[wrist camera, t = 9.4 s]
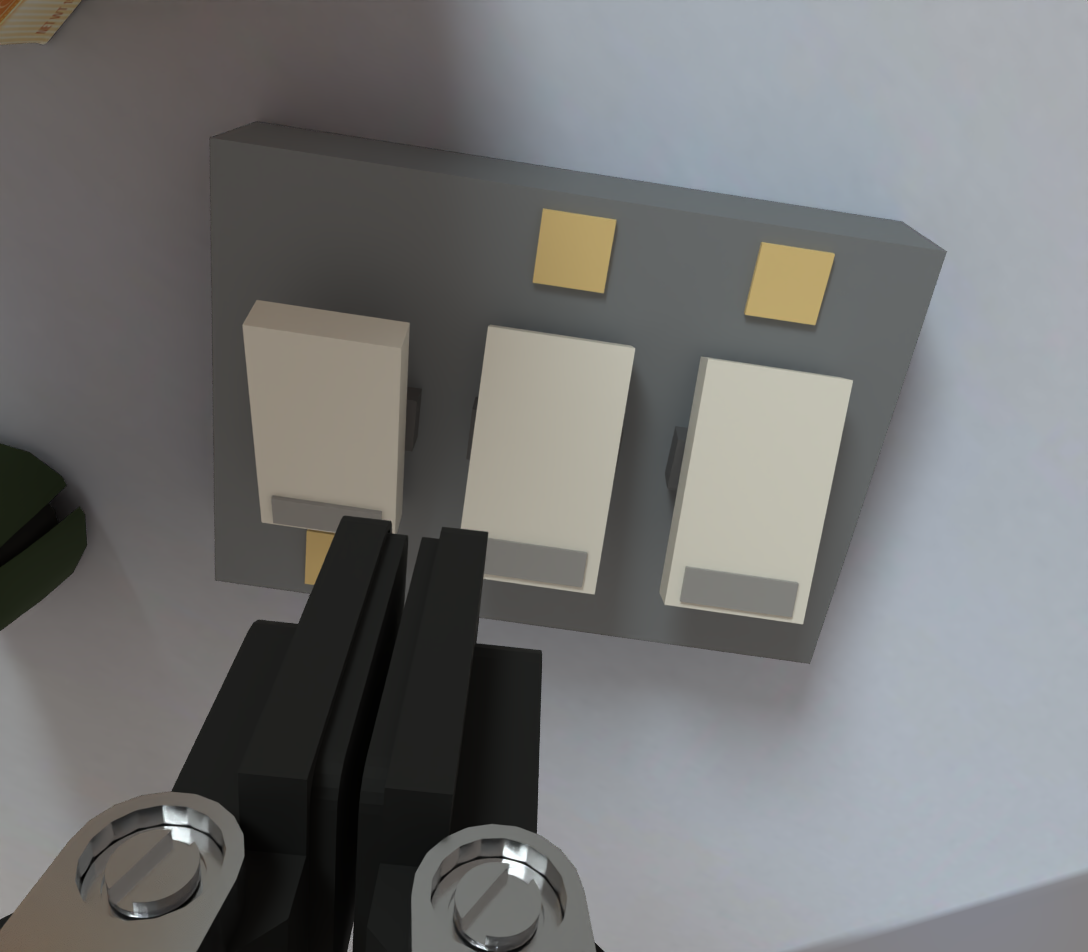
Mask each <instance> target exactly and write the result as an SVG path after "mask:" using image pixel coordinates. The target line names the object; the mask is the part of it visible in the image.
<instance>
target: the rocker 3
mask: <svg viewBox="0 0 1088 952" xmlns="http://www.w3.org/2000/svg"><path fill="white" fill-rule="evenodd" d="M852 384H853V380H849V379H845V378H841V377H836V376H829V375H822V374H816V373H809V372H802V371H795V370H789V369H782V368H775V367H769V366H762V365H755V364H749V363H742V362H735V361H729V360H722V359H715V358H709V357H702V356H701V358H700V364H699V370H698V375H697V381H696V387H695V392H694V398H693V404H692V409H691V415H690V421H689V426H688V432H687V438H686V443H685V449H684V455H683V460H682V466H681V472H680V477H679V483H678V489H677V494H676V500H675V506H674V511H673V517H672V523H671V528H670V534H669V540H668V545H667V551H666V557H665V563H664V568H663V574H662V580H661V585H660V591H659V593H660V595H661V597H662V600H663V602H664V605H670V606H677V607H684V608H691V609H698V610H705V611H713V612H720V613H727V614H734V615H741V616H748V617H755V618H762V619H769V620H776V621H783V622H790V623H797V624H803V622H804V617H805V612H806V608H807V603H808V598H809V593H810V588H811V583H812V578H813V573H814V569H815V564H816V559H817V554H818V549H819V544H820V539H821V534H822V530H823V525H824V520H825V515H826V510H827V505H828V500H829V496H830V491H831V486H832V481H833V476H834V471H835V466H836V461H837V457H838V452H839V447H840V442H841V437H842V432H843V427H844V422H845V418H846V413H847V408H848V403H849V398H850V393H851V388H852Z"/></svg>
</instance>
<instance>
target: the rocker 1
mask: <svg viewBox="0 0 1088 952" xmlns="http://www.w3.org/2000/svg"><path fill="white" fill-rule="evenodd" d="M242 326H243V336H244V347H245V357H246V367H247V377H248V388H249V398H250V408H251V418H252V429H253V439H254V449H255V459H256V470H257V480H258V490H259V500H260V511H261V521H262V523H269V524H276V525H283V526H290V527H297V528H304V529H311V530H318V531H325V532H332V533H336V530H337V528H338V525H339V523H340V520H341V519H342V517H343V516H354V517H362V518H371V519H380V520H389V521H391V523H392V533H393V534H397V531H398V527H399V524H400V520H401V516H402V504H403V479H404V454H405V429H406V404H407V380H408V355H409V330H410V323H408V322H401V321H395V320H388V319H381V318H375V317H368V316H361V315H355V314H348V313H341V312H335V311H328V310H321V309H314V308H308V307H301V306H294V305H288V304H281V303H274V302H268V301H261V300H256V302H255V304H254V305H253V307H252V309H251V311H250V312H249V314H248V316H247V318H246V319H245V321H244V323H243V325H242Z"/></svg>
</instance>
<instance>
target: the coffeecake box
mask: <svg viewBox="0 0 1088 952" xmlns="http://www.w3.org/2000/svg"><path fill="white" fill-rule="evenodd" d="M81 1H82V0H0V45H5V44H21V43H39V44H41V45H44V44H46V43H47V42H48V41H49V40H50V39H51V37H52V36H53V35H54V34H55V32H56V31H57V30H58V29H59V28H60V26H61V25H62V24H63V23H64V22H65V20H66V19H67V18H68V17H69V15H70V14H71V13H72V12H73V11H74V9H75V8H76V7H77V6H78V4H79V3H80V2H81Z"/></svg>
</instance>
